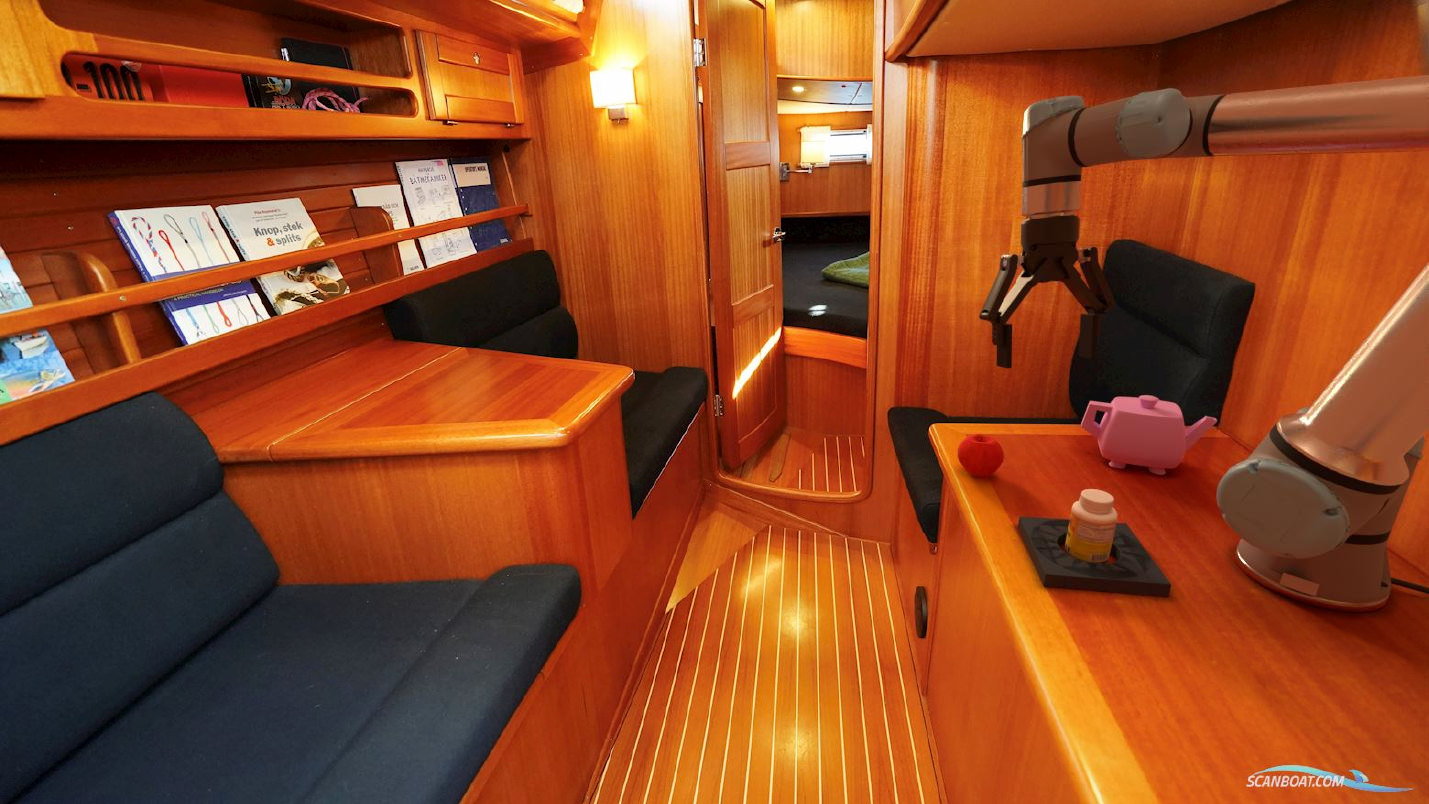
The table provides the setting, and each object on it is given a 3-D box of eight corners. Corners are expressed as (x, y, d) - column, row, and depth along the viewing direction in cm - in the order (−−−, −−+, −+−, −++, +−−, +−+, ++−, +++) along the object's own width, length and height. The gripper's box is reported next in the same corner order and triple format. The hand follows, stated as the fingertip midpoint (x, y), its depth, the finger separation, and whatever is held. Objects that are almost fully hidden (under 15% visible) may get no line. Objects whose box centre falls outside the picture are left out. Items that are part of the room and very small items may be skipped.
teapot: (1076, 465, 118) (1087, 401, 113) (1076, 440, 128) (1086, 380, 124) (1209, 486, 109) (1227, 417, 104) (1198, 457, 119) (1214, 393, 115)
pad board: (1124, 534, 96) (1126, 522, 96) (1168, 597, 83) (1172, 584, 82) (1017, 527, 100) (1019, 516, 99) (1043, 586, 86) (1045, 574, 85)
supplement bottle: (1071, 542, 95) (1083, 481, 91) (1113, 557, 91) (1127, 494, 88) (1057, 558, 91) (1068, 496, 88) (1099, 575, 88) (1113, 510, 84)
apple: (949, 464, 120) (952, 428, 118) (991, 463, 120) (996, 427, 117) (962, 484, 113) (966, 446, 110) (1008, 483, 113) (1013, 445, 110)
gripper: (1109, 211, 97) (1103, 350, 101) (955, 225, 94) (955, 367, 98) (1149, 207, 89) (1140, 356, 94) (983, 221, 86) (982, 375, 91)
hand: (1045, 362), depth 96 cm, fingers open, 13 cm apart
